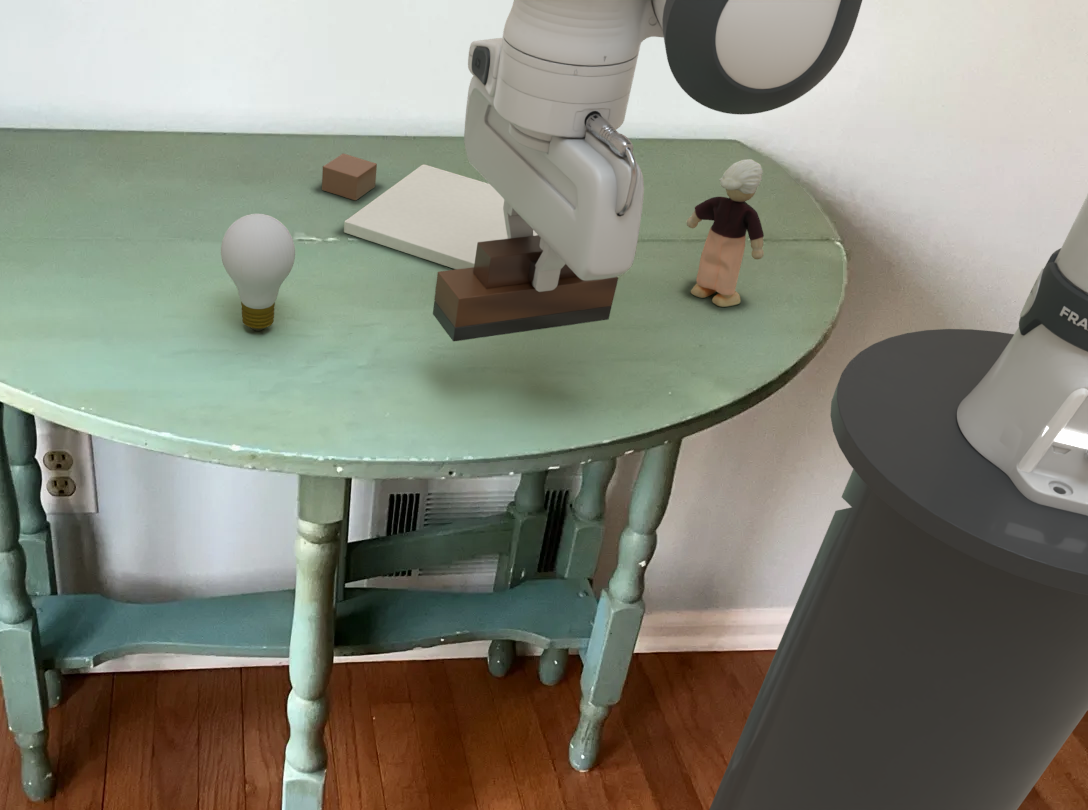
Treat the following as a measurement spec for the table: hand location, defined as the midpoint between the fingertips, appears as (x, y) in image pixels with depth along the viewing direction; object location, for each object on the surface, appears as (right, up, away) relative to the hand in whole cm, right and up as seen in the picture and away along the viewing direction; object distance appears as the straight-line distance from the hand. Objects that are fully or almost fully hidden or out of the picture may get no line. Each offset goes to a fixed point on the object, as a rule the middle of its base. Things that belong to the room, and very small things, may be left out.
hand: (529, 273), depth 88 cm
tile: (-2, +10, +27) cm, 29 cm away
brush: (0, -3, +2) cm, 4 cm away
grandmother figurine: (+19, +3, +21) cm, 28 cm away
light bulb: (-21, -2, +12) cm, 24 cm away
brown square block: (-14, +16, +32) cm, 39 cm away
